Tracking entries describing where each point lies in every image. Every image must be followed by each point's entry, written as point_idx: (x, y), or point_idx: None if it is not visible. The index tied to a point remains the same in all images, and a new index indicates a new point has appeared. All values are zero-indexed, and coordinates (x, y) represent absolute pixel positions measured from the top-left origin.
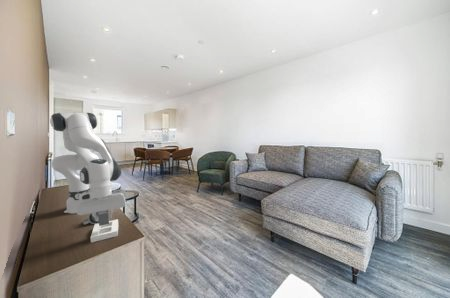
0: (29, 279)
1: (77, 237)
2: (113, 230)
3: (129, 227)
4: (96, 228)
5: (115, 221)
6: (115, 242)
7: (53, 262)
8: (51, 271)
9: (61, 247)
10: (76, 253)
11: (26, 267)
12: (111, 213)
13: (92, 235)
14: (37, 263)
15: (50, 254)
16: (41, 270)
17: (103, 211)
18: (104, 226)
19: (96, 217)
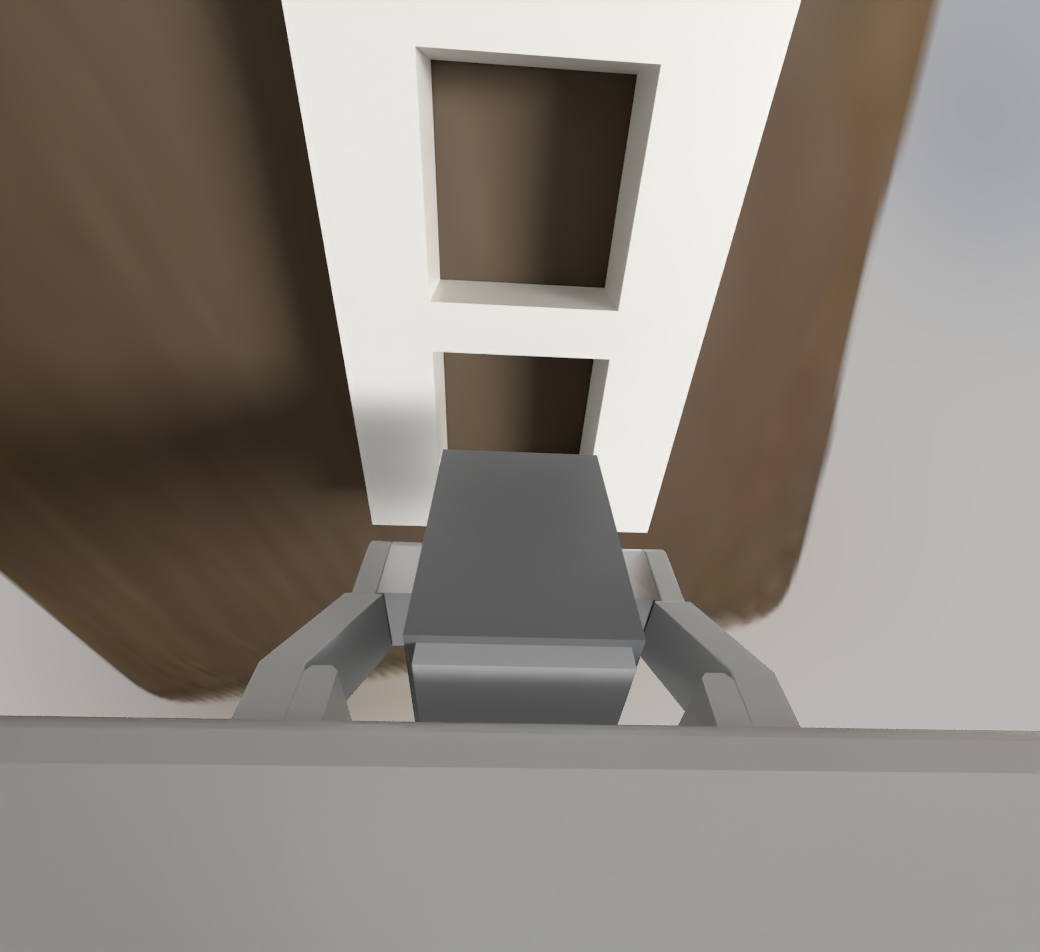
0: (163, 685)
1: (132, 225)
2: (611, 496)
3: (814, 354)
4: (380, 273)
5: (716, 122)
6: None
7: (196, 611)
8: (248, 677)
9: (85, 416)
10: (317, 585)
11: (14, 583)
12: (671, 677)
13: (381, 486)
14: (64, 573)
15: (68, 497)
16: (173, 650)
17: (523, 718)
18: (494, 60)
19: (386, 652)
